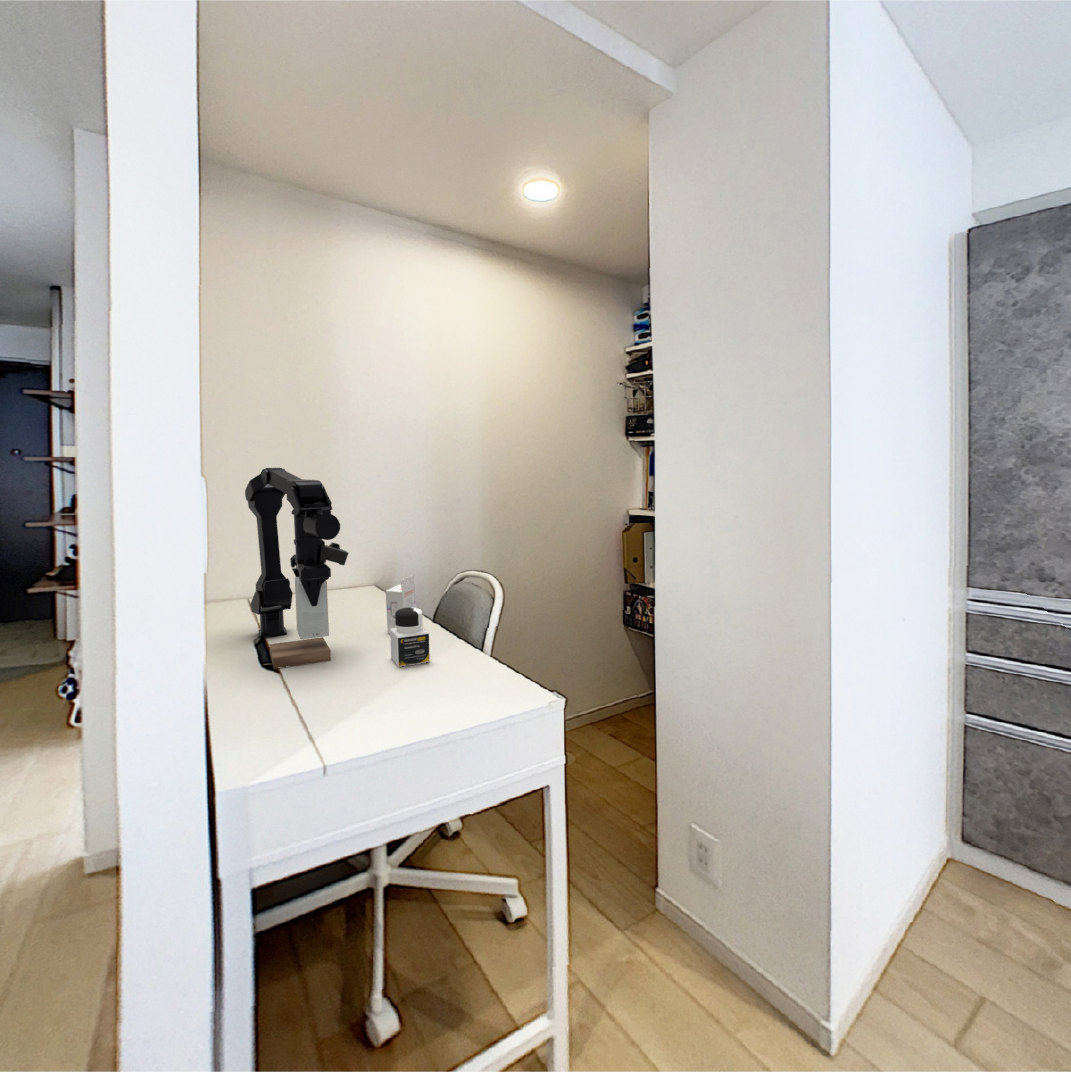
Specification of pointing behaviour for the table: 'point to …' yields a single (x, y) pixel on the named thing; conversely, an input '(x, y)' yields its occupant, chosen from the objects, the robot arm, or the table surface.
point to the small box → (311, 613)
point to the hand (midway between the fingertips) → (311, 602)
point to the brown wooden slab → (299, 652)
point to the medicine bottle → (409, 638)
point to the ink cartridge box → (399, 599)
